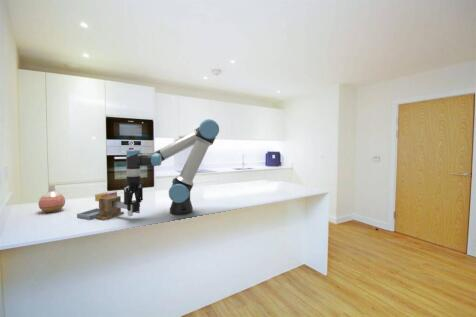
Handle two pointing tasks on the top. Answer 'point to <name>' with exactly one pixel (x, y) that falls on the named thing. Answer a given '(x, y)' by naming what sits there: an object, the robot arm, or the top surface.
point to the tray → (89, 214)
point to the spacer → (101, 196)
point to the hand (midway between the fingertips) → (133, 214)
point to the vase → (51, 200)
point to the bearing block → (108, 207)
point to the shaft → (121, 205)
